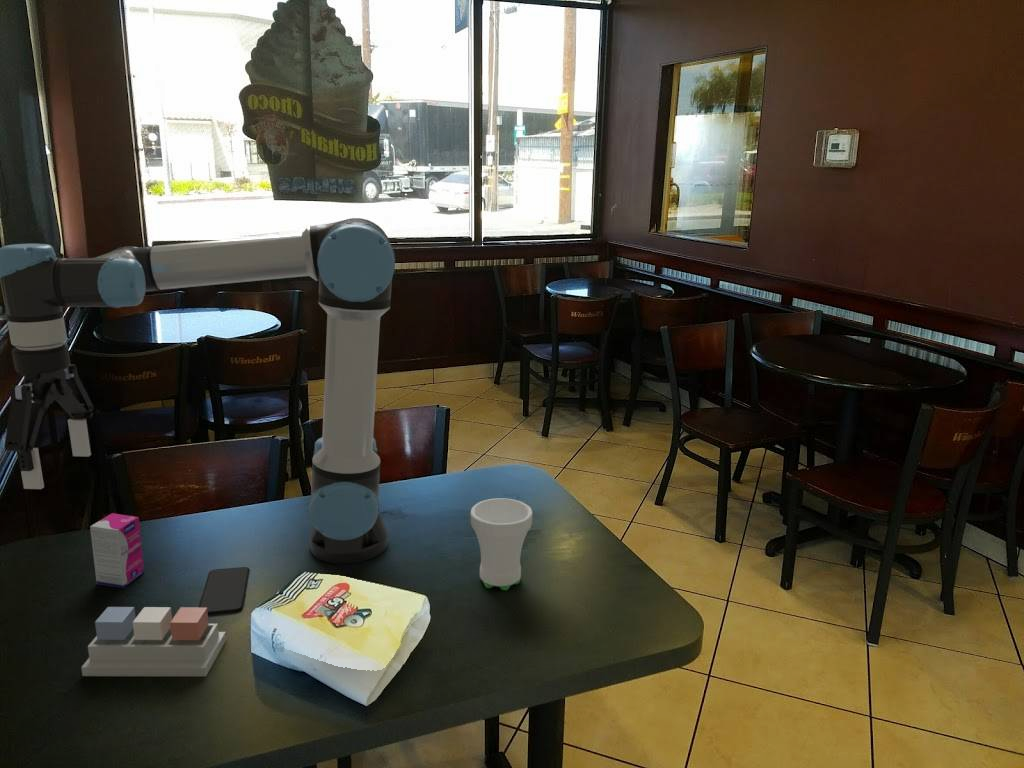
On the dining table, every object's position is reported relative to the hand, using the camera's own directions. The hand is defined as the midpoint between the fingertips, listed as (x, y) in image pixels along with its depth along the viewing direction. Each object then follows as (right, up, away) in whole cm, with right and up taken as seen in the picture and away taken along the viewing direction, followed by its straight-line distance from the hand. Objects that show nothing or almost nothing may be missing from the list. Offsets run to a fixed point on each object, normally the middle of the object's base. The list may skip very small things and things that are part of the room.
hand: (59, 471), depth 125 cm
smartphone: (+23, -23, +11) cm, 34 cm away
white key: (+20, -23, -9) cm, 32 cm away
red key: (+25, -24, -9) cm, 36 cm away
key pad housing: (+20, -28, -8) cm, 35 cm away
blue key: (+14, -23, -9) cm, 29 cm away
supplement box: (+3, -21, +14) cm, 26 cm away
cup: (+72, -22, +16) cm, 77 cm away
